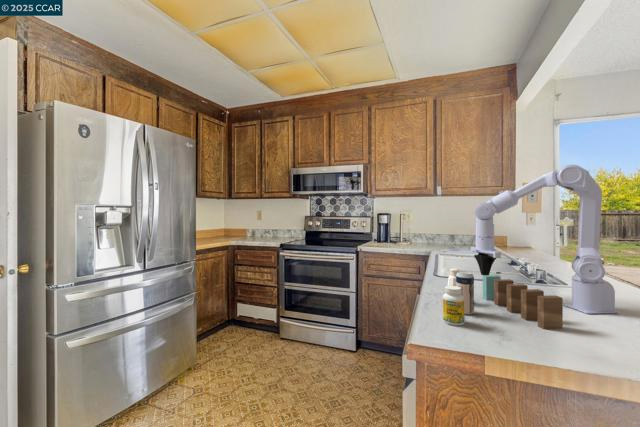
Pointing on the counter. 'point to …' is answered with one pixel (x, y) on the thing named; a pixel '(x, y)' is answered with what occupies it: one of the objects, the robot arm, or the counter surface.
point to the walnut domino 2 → (514, 297)
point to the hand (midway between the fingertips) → (485, 275)
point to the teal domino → (489, 286)
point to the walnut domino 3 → (530, 303)
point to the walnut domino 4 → (550, 312)
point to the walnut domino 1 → (501, 291)
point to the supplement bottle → (453, 306)
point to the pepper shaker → (452, 277)
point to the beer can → (466, 290)
